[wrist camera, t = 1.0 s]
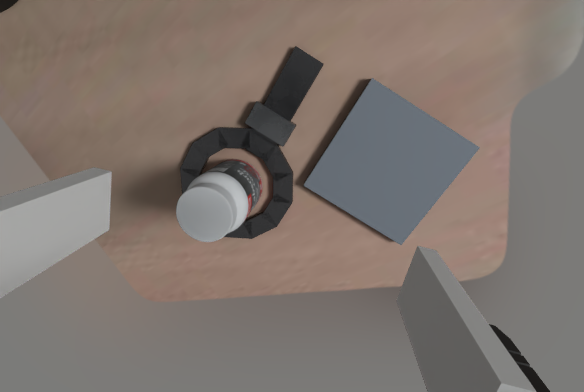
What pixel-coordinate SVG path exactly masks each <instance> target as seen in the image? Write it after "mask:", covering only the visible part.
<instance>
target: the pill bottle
mask: <svg viewBox="0 0 584 392" xmlns="http://www.w3.org/2000/svg"><path fill="white" fill-rule="evenodd" d="M261 194H262V180H261V177H260V175H259V173H258V172H257V170H256V169H255V168H254V167H253V166H252V165H251V164H249V163H247V162H245V161H242V160H237V159H232V160H227V161H224V162H222V163H220V164H219V165H217V166H215V167H213V168H212V169H210V170H208V171H207V172H205V173H203V174H201V175H199V176H198V177H197V178H195V179H194V180H193V181H192V182H191V184H190V185H189V187H188V188H187V191H185V192H184V193H183V194H182V195H181V197H180V198H179V200H178V203H177V207H176V216H177V220H178V222H179V224H180V226H181V228H182V229H183V230H184V231H185V233H186V234H188V235H189V236H190V237H192V238H194V239H196V240H199V241H203V242H213V241H217V240H219V239H221V238H223V237H224V236H225V235H226V234H227V233H230V232H232V231H234V230H236V229H237V228H238V227H239V226H240V225H241V224H242V223H243V222H244V221H245V219H246V218H247V216H248V215H249V213H250V212H251V211H252V209H253V208H254V206H255V205H256V204H257V202H258V201H259V199H260V197H261Z"/></svg>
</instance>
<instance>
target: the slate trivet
mask: <svg viewBox="0 0 584 392" xmlns="http://www.w3.org/2000/svg"><path fill="white" fill-rule="evenodd" d="M479 148H480V147H478V146H476V145H475V144H473V143H472V142H470V141H469V140H467V139H466V138H464V137H463V136H461V135H459V134H458V133H456V132H455V131H453V130H452V129H450V128H449V127H447V126H446V125H444V124H442V123H441V122H439V121H438V120H436V119H435V118H433V117H432V116H430V115H429V114H427V113H425V112H424V111H422V110H421V109H419V108H418V107H416V106H415V105H413V104H412V103H410V102H408V101H407V100H405V99H404V98H402V97H401V96H399V95H398V94H396V93H395V92H393V91H391V90H390V89H388V88H387V87H385V86H384V85H382V84H381V83H379V82H378V81H376V80H374V79H373V78H372V79H370V81H369V83H368V84H367V86H366V87H365V89H364V90H363V92H362V94H361V95H360V97H359V98H358V100H357V101H356V103H355V104H354V106H353V108H352V109H351V111H350V112H349V114H348V115H347V117H346V118H345V120H344V122H343V123H342V125H341V126H340V128H339V129H338V131H337V133H336V134H335V136H334V137H333V139H332V140H331V142H330V143H329V145H328V147H327V148H326V150H325V151H324V153H323V154H322V156H321V158H320V159H319V161H318V162H317V164H316V165H315V167H314V168H313V170H312V172H311V173H310V175H309V176H308V178H307V179H306V181H305V183H304V186H305V187H307V188H308V189H310V190H312V191H313V192H315V193H317V194H318V195H320V196H322V197H323V198H325V199H326V200H328V201H330V202H331V203H333V204H335V205H336V206H338V207H339V208H341V209H343V210H344V211H346V212H348V213H349V214H351V215H353V216H354V217H356V218H357V219H359V220H361V221H362V222H364V223H366V224H367V225H369V226H371V227H372V228H374V229H375V230H377V231H379V232H380V233H382V234H384V235H385V236H387V237H388V238H390V239H392V240H393V241H395V242H397V243H398V244H400V245H402V243H403V242H404V241H405V240H406V238H407V237H408V236H409V235H410V233H411V232H412V231H413V230H414V229H415V227H416V226H417V225H418V224H419V222H420V221H421V220H422V219H423V217H424V216H425V215H426V214H427V212H428V211H429V210H430V209H431V208H432V206H433V205H434V204H435V203H436V201H437V200H438V199H439V198H440V196H441V195H442V194H443V193H444V191H445V190H446V189H447V188H448V186H449V185H450V184H451V183H452V182H453V180H454V179H455V178H456V177H457V175H458V174H459V173H460V172H461V170H462V169H463V168H464V167H465V165H466V164H467V163H468V162H469V160H470V159H471V158H472V157H473V156H474V154H475V153H476V152H477V151H478V149H479Z"/></svg>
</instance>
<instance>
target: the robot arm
mask: <svg viewBox="0 0 584 392" xmlns="http://www.w3.org/2000/svg"><path fill="white" fill-rule="evenodd" d="M17 1H18V0H0V12H2V11H4V10H6V9H8V8H9V7H11V6H12V5H13V4H15V3H16V2H17ZM111 175H112V171H108V170H103V169H99V168H95V167H94V168H90V169H87V170H84V171H81V172H78V173H75V174H71V175H68V176H65V177H62V178H59V179H55V180H52V181H49V182H46V183H43V184H40V185H37V186H33V187H30V188H27V189H24V190H20V191H17V192H14V193H11V194H8V195H5V196H1V197H0V298H1V297H3V296H4V295H6V294H7V293H9V292H11V291H12V290H14V289H15V288H17V287H19V286H20V285H22V284H23V283H25V282H27V281H28V280H30V279H31V278H33V277H34V276H36V275H38V274H39V273H41V272H43V271H44V270H46V269H47V268H49V267H51V266H52V265H54V264H55V263H57V262H59V261H60V260H62V259H63V258H65V257H67V256H68V255H70V254H71V253H73V252H74V251H76V250H78V249H79V248H81V247H83V246H84V245H86V244H87V243H89V242H90V241H92V240H94V239H95V238H97V237H99V236H100V235H102V234H103V233H105V232H107V231H108V230H109V224H110V200H111ZM397 304H398V307H399V310H400V313H401V316H402V319H403V321H404V325H405V328H406V330H407V333H408V336H409V339H410V342H411V345H412V348H413V351H414V354H415V357H416V359H417V362H418V365H419V368H420V371H421V374H422V377H423V380H424V383H425V385H426V389H427V391H428V392H550V391H549V389H548V388H547V387H546V385H545V384H544V383H543V382H542V380H541V379H540V378H539V376H538V375H537V374H536V372H535V371H534V370H533V368H531V367H530V364H529V363H528V362H527V360H526V359H525V358H524V356H521V352H520V351H519V350H518V349H517V347H516V346H515V345H514V343H513V342H512V341H511V339H510V338H508V337H507V336H506V335H505V334H504V333H503V332H502V331H500V330H499V329H498V328H497V327H496V326H494V325H490V324H488V323H487V321H486V320H485V319H484V317H483V316H482V314H481V313H480V312H479V310H478V309H477V307H476V306H475V304H474V303H473V302H472V300H471V299H470V297H469V296H468V295H467V293H466V292H465V290H464V289H463V288H462V286H461V285H460V283H459V282H458V281H457V279H456V278H455V276H454V275H453V274H452V272H451V271H450V269H449V268H448V266H447V265H446V264H445V262H444V261H443V259H442V258H441V257H440V255H439V254H438V252H437V251H436V250H433V249H429V248H425V247H421V246H417V249H416V251H415V254H414V256H413V259H412V262H411V264H410V267H409V269H408V272H407V275H406V277H405V280H404V282H403V285H402V288H401V290H400V293H399V296H398V298H397Z"/></svg>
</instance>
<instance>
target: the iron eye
mask: <svg viewBox="0 0 584 392" xmlns="http://www.w3.org/2000/svg"><path fill="white" fill-rule="evenodd" d="M322 66H323V63H321V62H320V61H318V60H317V59H315V58H313V57H312V56H310V55H309V54H307V53H306V52H304V51H303V50H301V49H299V48H298V47H295V49H294V50H293V52H292V54H291V56H290V58H289V60H288V61H287V63H286V65H285V67H284V69H283V71H282V72H281V74H280V76H279V78H278V80H277V82H276V83H275V85H274V87H273V89H272V91H271V93H270V94H269V96H268V98H267V100H266V102H265V104H262V103H261V102H259V101H257V102H256V103H255V105H254V107H253V109H252V111H251V113H250V115H249V116H248V118H247V120H246V122H245V124H247V125H249V126H250V127H251V128H229V127H219V128H217V129H215V130H214V131H212V132H210V133H209V134H207V135H205V136H204V137H202V138H200V139H199V140H197V141H195V142H194V143H193V144H192V146H191V148H190V150H189V152H188V154H187V156H186V158H185V160H184V162H183V164H182V166H181V168H180V171H181V183H182V194H183V193H184V192H185V191H187V188H188V187H189V185H190V184H191V182H192V181H193V180H194V179H195V178H197V177H198V176H199V175H201V172H202V170H203V168H204V166H205V164H206V162H207V160H208V158H209V157H210V156H211V155H213V154H215V153H216V152H218V151H220V150H222V149H223V148H245V149H247V150H248V151H250V152H252V153H253V154H255V155H256V156H258V157H260V158H261V159H263V161H264V162H265V164H266V166H267V167H268V169H269V171H270V173H271V174H272V176H273V198H272V200H271V202H270V203H269V205H268V206H267V208H266V210H265V211H264V212H262V213H260V214H258V215H256V216H254V217H252V218H250V219H248V220H247V219H245V221H244V222H243V223H242V224H241V225H240V226H239V227H238V228H237V229H236V230H234V231H232V232H230V233H227V234H226V235H225V236H224V237H233V238H250V239H252V238H254V237H256V236H258V235H260V234H263V233H265V232H267V231H269V230H271V229H273V228H275V227H277V226H278V224H279V222H280V221H281V219H282V218H283V216H284V215H285V213H286V211H287V210H288V208H289V207H290V205H291V204H292V201H293V171H292V169H291V167H290V166H289V164H288V162H287V160H286V158H285V157H284V155H283V153H282V151H281V149H280V148H279V146H278V144H279V145H281V146H284V145H285V143H286V142H287V140H288V138H289V137H290V135H291V133H292V132H293V130H294V128H295V127H296V124H294V123H293V122H291V119H292V118H293V116H294V114H295V113H296V111H297V109H298V107H299V106H300V104H301V102H302V101H303V99H304V97H305V95H306V94H307V92H308V90H309V89H310V87H311V85H312V83H313V82H314V80H315V78H316V77H317V75H318V73H319V71H320V70H321V68H322ZM277 143H278V144H277Z"/></svg>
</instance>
